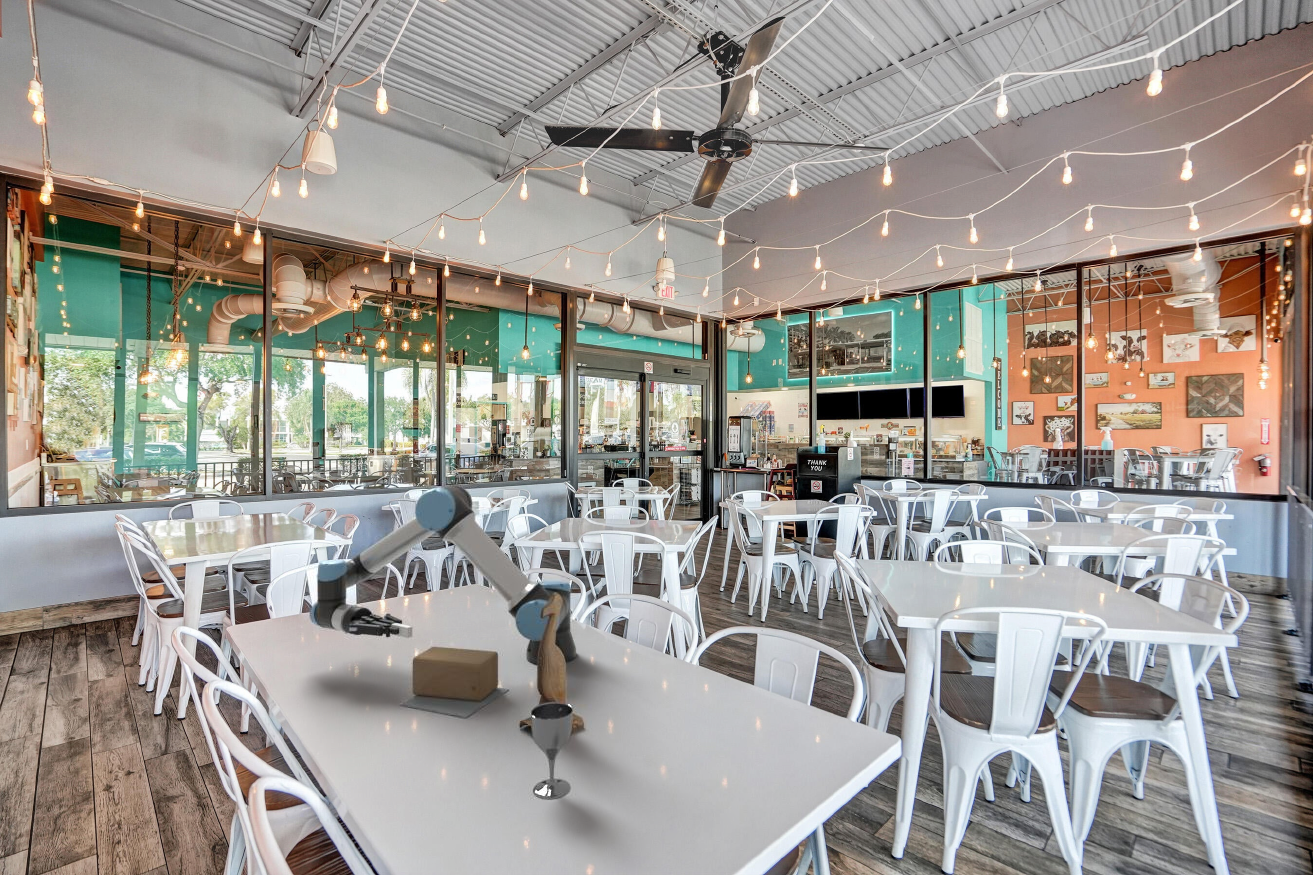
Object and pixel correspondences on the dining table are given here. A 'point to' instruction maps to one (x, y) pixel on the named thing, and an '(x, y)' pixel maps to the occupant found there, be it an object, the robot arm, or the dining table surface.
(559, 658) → the bird sculpture
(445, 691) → the wooden block
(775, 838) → the dining table surface
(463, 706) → the mat
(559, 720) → the wine glass
